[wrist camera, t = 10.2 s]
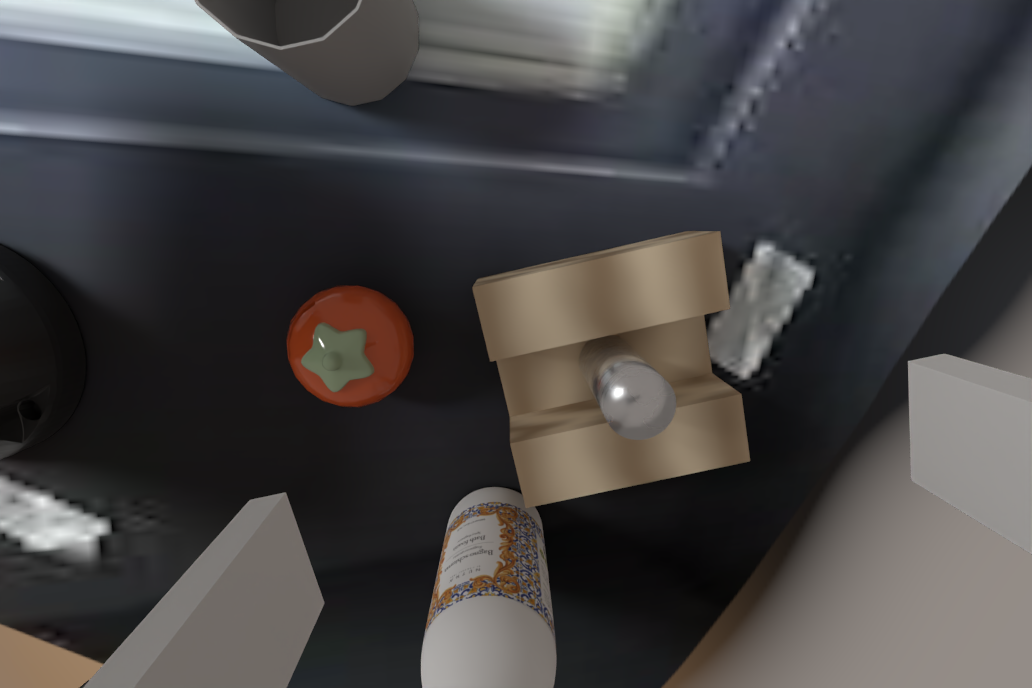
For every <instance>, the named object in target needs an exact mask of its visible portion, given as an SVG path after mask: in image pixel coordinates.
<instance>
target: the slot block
mask: <svg viewBox="0 0 1032 688" xmlns="http://www.w3.org/2000/svg"><path fill="white" fill-rule="evenodd" d="M472 289H473V293H474V297H475V301H476V305H477V309H478V314H479V318H480V322H481V326H482V330H483V334H484V338H485V342H486V347H487V351H488V355H489V359H490V362H491V361H497V366H498V370H499V374H500V378H501V382H502V386H503V391H504V395H505V399H506V403H507V407H508V411H509V416H510V446H511V450H512V454H513V458H514V462H515V466H516V470H517V474H518V478H519V483H520V487H521V491H522V495H523V499H524V503H525V507H526V508H529V507H534V506H539V505H544V504H548V503H553V502H558V501H563V500H567V499H572V498H577V497H582V496H587V495H591V494H596V493H601V492H606V491H610V490H615V489H620V488H625V487H630V486H634V485H639V484H644V483H649V482H653V481H658V480H663V479H668V478H673V477H677V476H682V475H687V474H692V473H696V472H701V471H706V470H711V469H715V468H720V467H725V466H730V465H735V464H739V463H744V462H749V461H750V456H749V448H748V441H747V433H746V425H745V418H744V410H743V402H742V395H741V393H739V392H738V391H736V390H735V389H734V388H732V387H731V386H729V385H728V384H727V383H725V382H724V381H722V380H721V379H719V378H718V377H717V376H715V375H714V374H712V368H711V361H710V354H709V347H708V340H707V333H706V326H705V319H704V315H705V314H709V313H714V312H718V311H723V310H728V309H730V303H729V295H728V287H727V280H726V272H725V264H724V257H723V249H722V241H721V234H720V231H686V232H682V233H677V234H673V235H668V236H664V237H659V238H655V239H651V240H646V241H642V242H637V243H633V244H629V245H624V246H620V247H615V248H611V249H606V250H602V251H598V252H593V253H589V254H584V255H580V256H575V257H571V258H567V259H562V260H558V261H553V262H549V263H545V264H540V265H536V266H531V267H527V268H522V269H518V270H514V271H509V272H505V273H500V274H496V275H491V276H487V277H483V278H478V279H477V280H476V282H475V284H474V285H473V287H472ZM609 335H616V336H618V337H620V338H622V339H623V340H624V341H625V342H627V343H628V344H629V345H630V346H631V347H632V348H633V349H634V350H635V351H636V352H637V353H638V354H639V355H640V356H641V357H642V358H643V359H644V360H645V361H646V362H648V363H649V364H650V365H651V366H652V367H653V368H654V369H655V370H656V371H657V372H658V373H659V374H660V375H661V376H662V377H663V378H664V379H665V380H666V381H667V382H668V383H669V384H670V385H671V387H672V388H673V390H674V393H675V397H676V411H675V414H674V417H673V419H672V421H671V422H670V424H669V425H668V426H667V428H666V429H665V430H663V431H662V432H661V433H660V434H658V435H656V436H654V437H652V438H648V439H644V440H632V439H628V438H625V437H622V436H620V435H619V434H617V433H616V432H615V431H614V430H613V429H612V428H611V427H610V426H609V424H608V422H607V420H606V418H605V416H604V415H603V413H602V411H601V409H600V407H599V405H598V403H597V401H596V399H595V397H594V395H593V393H592V391H591V389H590V387H589V386H588V384H587V382H586V380H585V378H584V376H583V374H582V372H581V370H580V366H579V357H580V353H581V350H582V349H583V347H584V345H585V344H586V343H587V342H588V341H589V340H591V339H596V338H600V337H605V336H609Z"/></svg>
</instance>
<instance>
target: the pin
mask: <svg viewBox="0 0 1032 688" xmlns="http://www.w3.org/2000/svg"><path fill="white" fill-rule="evenodd" d="M579 366H580V370H581V372H582V374H583V376H584V378H585V380H586V382H587V384H588V386H589V387H590V389H591V391H592V393H593V395H594V397H595V399H596V401H597V403H598V405H599V407H600V409H601V411H602V413H603V415H604V416H605V418H606V420H607V422H608V424H609V426H610V427H611V428H612V429H613V430H614V431H615V432H616V433H617V434H619V435H620V436H622V437H625V438H628V439H632V440H644V439H648V438H652V437H654V436H656V435H658V434H660V433H661V432H662V431H663V430H665V429H666V428H667V426H668V425H669V424H670V422H671V421H672V419H673V417H674V414H675V411H676V397H675V393H674V390H673V388H672V387H671V385H670V384H669V383H668V382H667V381H666V380H665V379H664V378H663V377H662V376H661V375H660V374H659V373H658V372H657V371H656V370H655V369H654V368H653V367H652V366H651V365H650V364H649V363H648V362H646V361H645V360H644V359H643V358H642V357H641V356H640V355H639V354H638V353H637V352H636V351H635V350H634V349H633V348H632V347H631V346H630V345H629V344H628V343H627V342H625V341H624V340H623V339H622V338H620V337H618V336H616V335H609V336H605V337H600V338H596V339H591V340H589V341H588V342H587V343H586V344H585V345H584V347H583V349H582V350H581V353H580V357H579Z"/></svg>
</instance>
